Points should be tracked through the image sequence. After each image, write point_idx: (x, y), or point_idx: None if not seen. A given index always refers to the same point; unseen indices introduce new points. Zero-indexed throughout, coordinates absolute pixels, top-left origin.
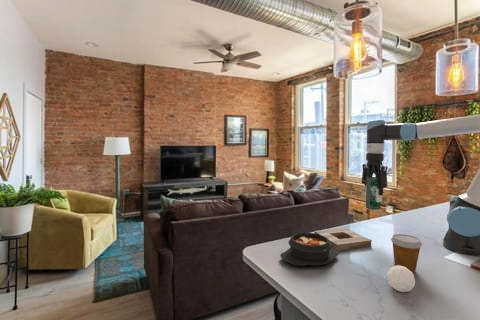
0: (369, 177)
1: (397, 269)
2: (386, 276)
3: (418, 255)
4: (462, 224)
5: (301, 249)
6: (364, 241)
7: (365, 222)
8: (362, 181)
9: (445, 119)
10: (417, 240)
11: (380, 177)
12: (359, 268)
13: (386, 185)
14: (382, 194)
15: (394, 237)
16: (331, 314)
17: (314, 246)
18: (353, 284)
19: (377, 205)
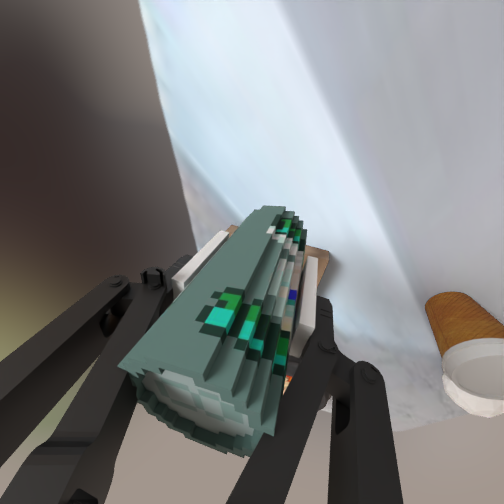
0: (138, 381)
1: (478, 415)
2: (445, 391)
3: None
4: None
5: None
6: (321, 277)
7: (159, 40)
8: (117, 318)
9: None
10: None
11: (288, 476)
12: (370, 347)
13: (381, 397)
14: (330, 307)
15: (461, 387)
16: (404, 429)
17: (320, 409)
18: (390, 384)
19: (303, 260)
